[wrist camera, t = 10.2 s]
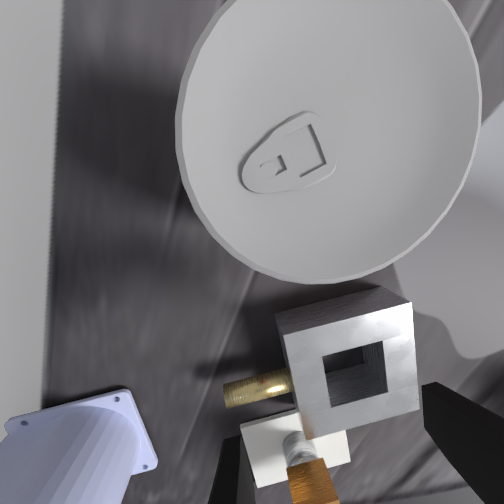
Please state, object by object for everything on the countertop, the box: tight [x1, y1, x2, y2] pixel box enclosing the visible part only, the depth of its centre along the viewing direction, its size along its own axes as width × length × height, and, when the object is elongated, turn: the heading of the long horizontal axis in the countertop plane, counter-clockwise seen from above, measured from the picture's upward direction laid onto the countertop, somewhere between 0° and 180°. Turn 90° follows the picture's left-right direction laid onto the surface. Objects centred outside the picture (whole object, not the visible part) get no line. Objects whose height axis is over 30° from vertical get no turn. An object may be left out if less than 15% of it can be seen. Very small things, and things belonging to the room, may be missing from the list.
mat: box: [240, 409, 351, 488], centre depth 21 cm, size 9×7×1 cm
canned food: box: [175, 0, 482, 284], centre depth 11 cm, size 8×8×11 cm
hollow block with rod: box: [223, 286, 419, 441], centre depth 18 cm, size 14×9×3 cm, turn 103°
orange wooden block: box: [282, 431, 339, 504], centre depth 18 cm, size 6×3×6 cm, turn 13°
